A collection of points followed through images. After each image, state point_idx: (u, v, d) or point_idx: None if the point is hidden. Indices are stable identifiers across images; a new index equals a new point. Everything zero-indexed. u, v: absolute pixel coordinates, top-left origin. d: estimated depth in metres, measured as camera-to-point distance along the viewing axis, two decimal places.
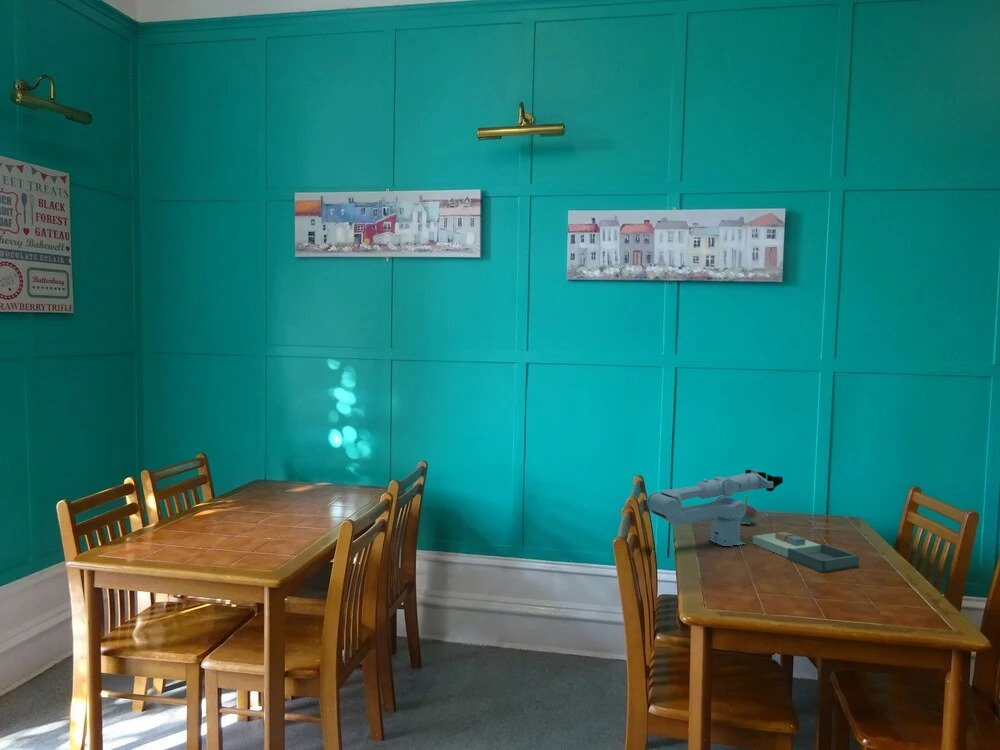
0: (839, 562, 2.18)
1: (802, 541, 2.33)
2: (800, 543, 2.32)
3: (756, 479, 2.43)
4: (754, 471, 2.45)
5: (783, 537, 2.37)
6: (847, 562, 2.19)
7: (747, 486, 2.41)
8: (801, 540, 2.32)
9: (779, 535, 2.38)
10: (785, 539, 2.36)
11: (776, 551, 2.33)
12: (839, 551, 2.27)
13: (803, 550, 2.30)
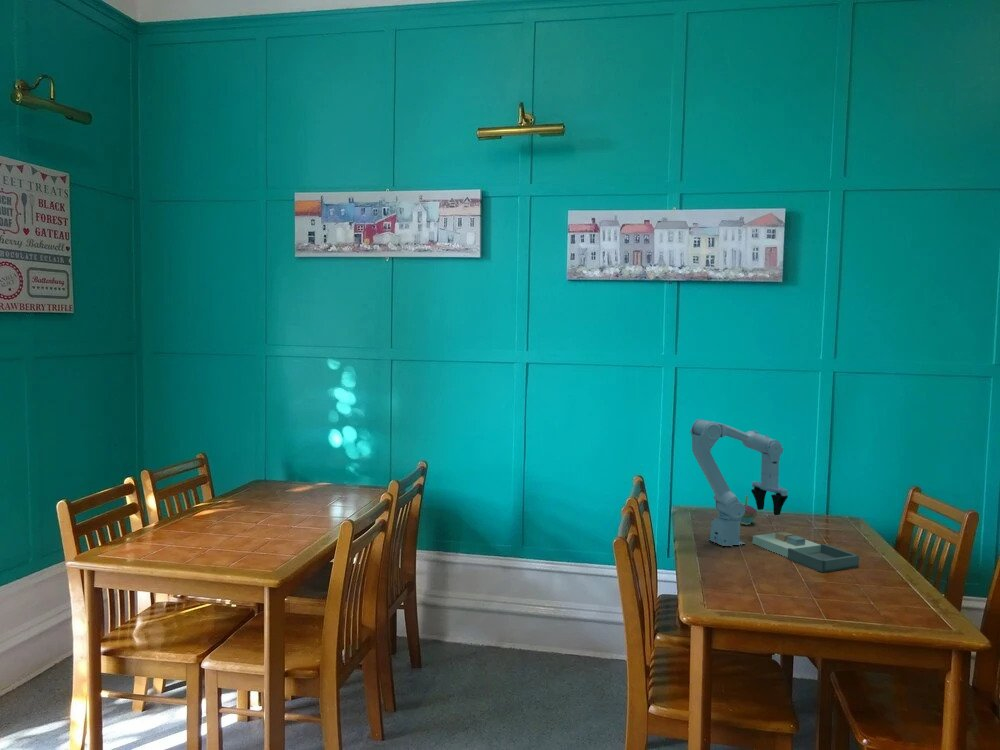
0: (839, 562, 2.18)
1: (802, 541, 2.33)
2: (800, 543, 2.32)
3: (777, 483, 2.43)
4: (778, 485, 2.46)
5: (783, 537, 2.37)
6: (847, 562, 2.19)
7: (773, 472, 2.42)
8: (801, 540, 2.32)
9: (779, 535, 2.38)
10: (785, 539, 2.36)
11: (776, 551, 2.33)
12: (839, 551, 2.27)
13: (803, 550, 2.30)
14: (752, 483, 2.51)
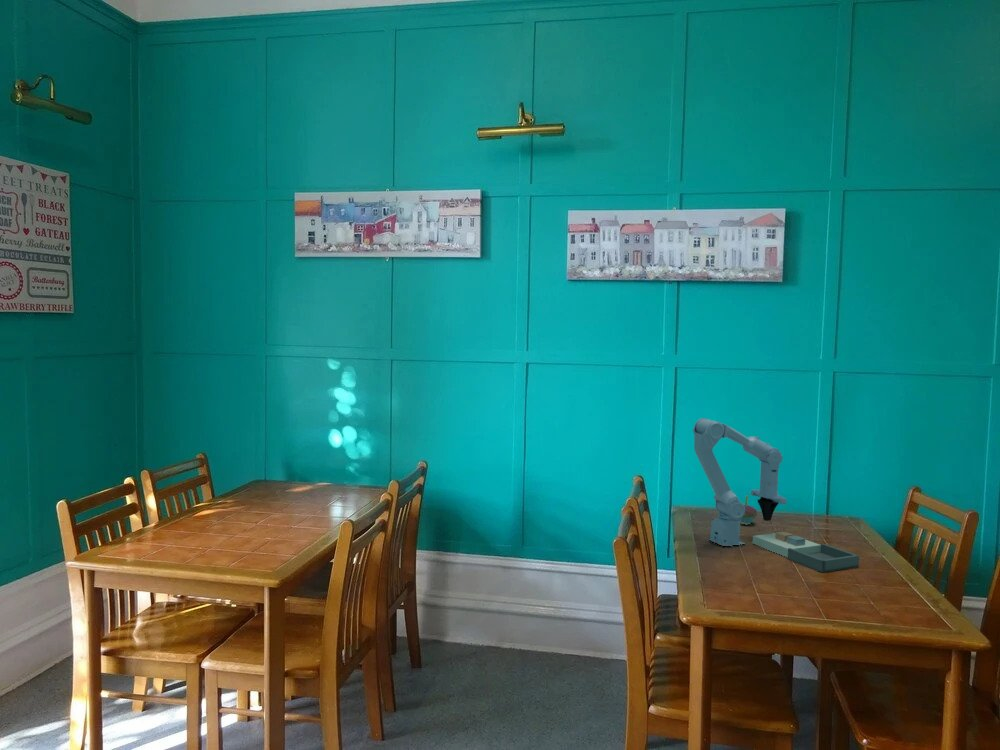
0: (839, 562, 2.18)
1: (802, 541, 2.33)
2: (800, 543, 2.32)
3: (776, 492, 2.43)
4: (777, 493, 2.46)
5: (783, 537, 2.37)
6: (847, 562, 2.19)
7: (772, 480, 2.42)
8: (801, 540, 2.32)
9: (779, 535, 2.38)
10: (785, 539, 2.36)
11: (776, 551, 2.33)
12: (839, 551, 2.27)
13: (803, 550, 2.30)
14: (751, 491, 2.51)
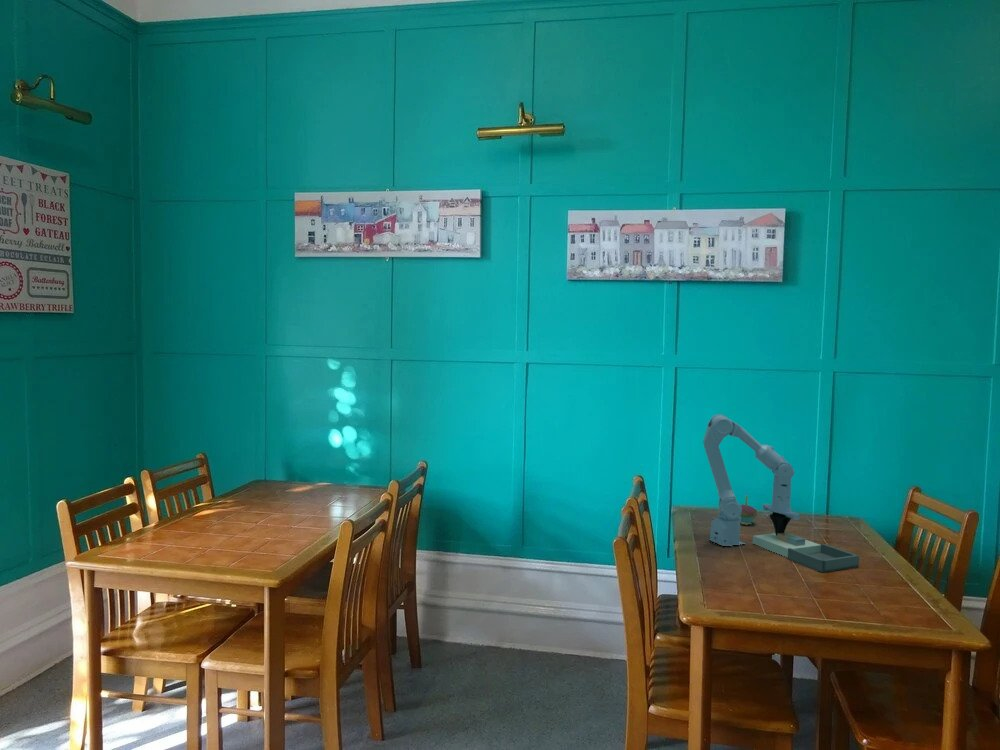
0: (839, 562, 2.18)
1: (802, 541, 2.33)
2: (800, 543, 2.32)
3: (789, 507, 2.38)
4: (789, 508, 2.41)
5: (785, 538, 2.36)
6: (847, 562, 2.19)
7: (781, 495, 2.37)
8: (801, 540, 2.32)
9: (781, 536, 2.37)
10: None
11: (776, 551, 2.33)
12: (839, 551, 2.27)
13: (803, 550, 2.30)
14: (763, 505, 2.46)
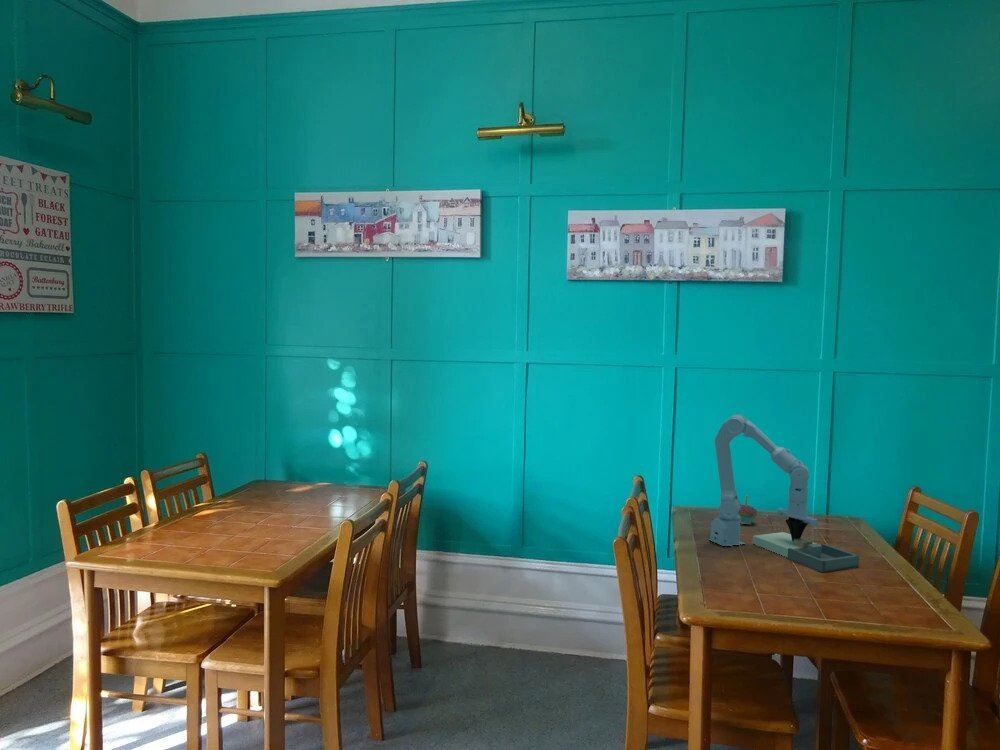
0: (839, 562, 2.18)
1: None
2: None
3: (806, 512, 2.32)
4: None
5: (802, 544, 2.29)
6: (847, 562, 2.19)
7: (795, 499, 2.31)
8: None
9: (798, 542, 2.31)
10: (804, 546, 2.29)
11: (776, 551, 2.33)
12: (839, 551, 2.27)
13: (803, 550, 2.30)
14: (778, 510, 2.40)
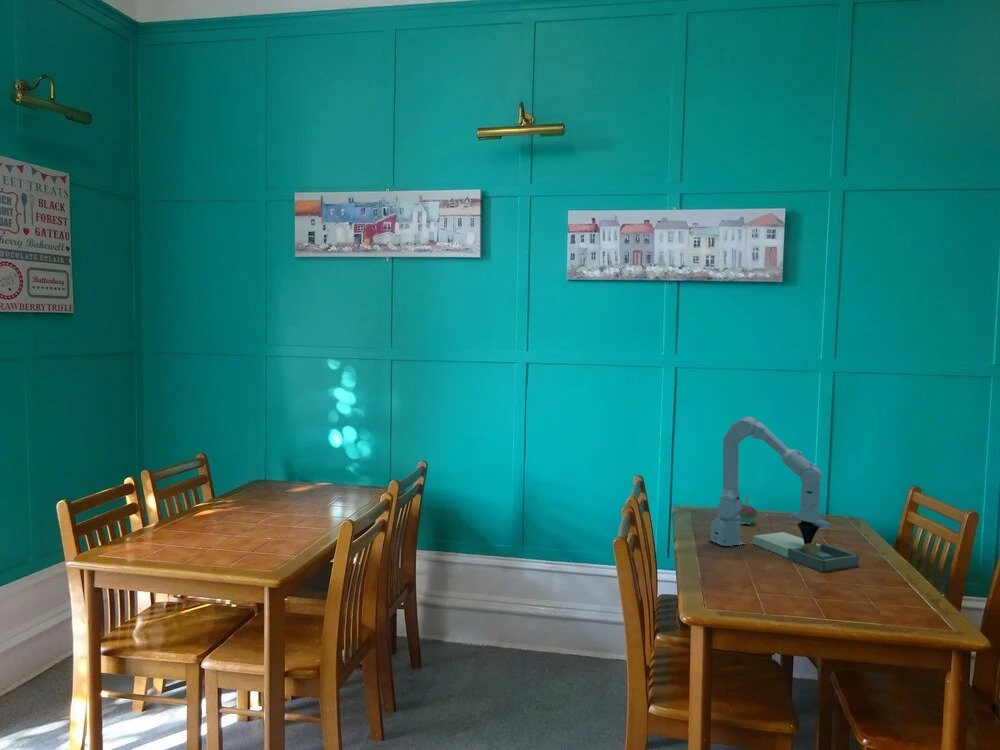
0: (839, 562, 2.18)
1: None
2: None
3: (818, 515, 2.27)
4: None
5: None
6: (847, 562, 2.19)
7: (806, 502, 2.27)
8: None
9: (807, 549, 2.27)
10: None
11: (776, 551, 2.33)
12: (839, 551, 2.27)
13: (803, 550, 2.30)
14: (790, 513, 2.35)
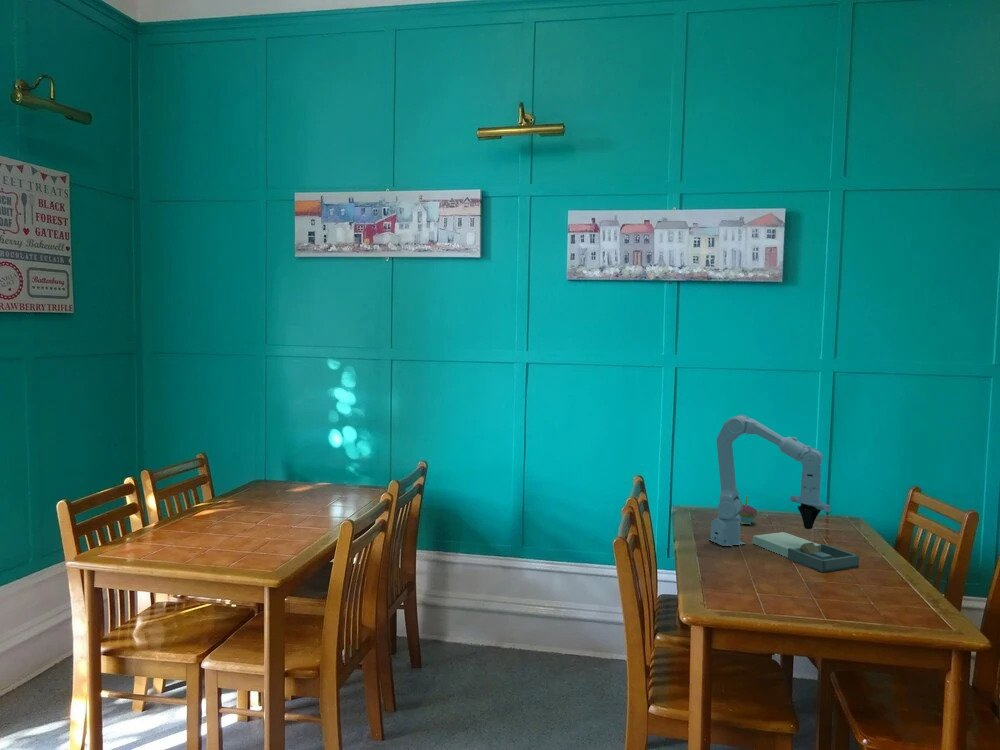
0: (839, 562, 2.18)
1: None
2: None
3: (819, 498, 2.27)
4: None
5: (809, 554, 2.27)
6: (847, 562, 2.19)
7: (807, 485, 2.27)
8: None
9: (806, 549, 2.28)
10: None
11: (776, 551, 2.33)
12: (839, 551, 2.27)
13: None
14: (790, 497, 2.35)
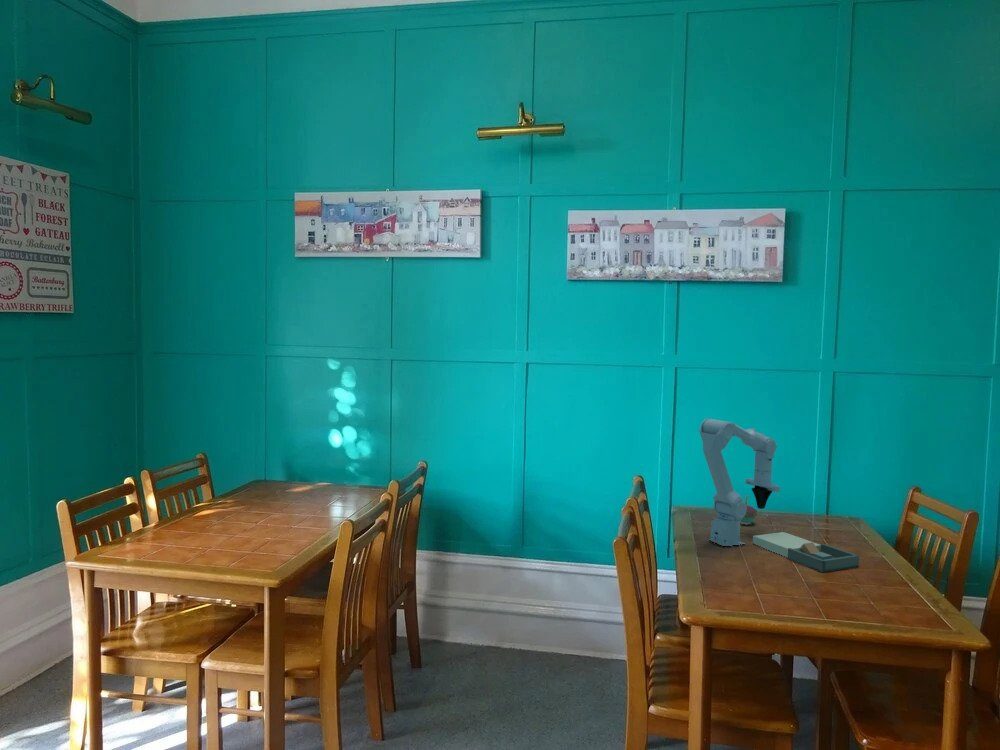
0: (839, 562, 2.18)
1: None
2: None
3: (770, 480, 2.49)
4: (770, 482, 2.51)
5: (809, 554, 2.27)
6: (847, 562, 2.19)
7: (768, 469, 2.47)
8: None
9: (806, 549, 2.28)
10: None
11: (776, 551, 2.33)
12: (839, 551, 2.27)
13: None
14: (745, 480, 2.56)
